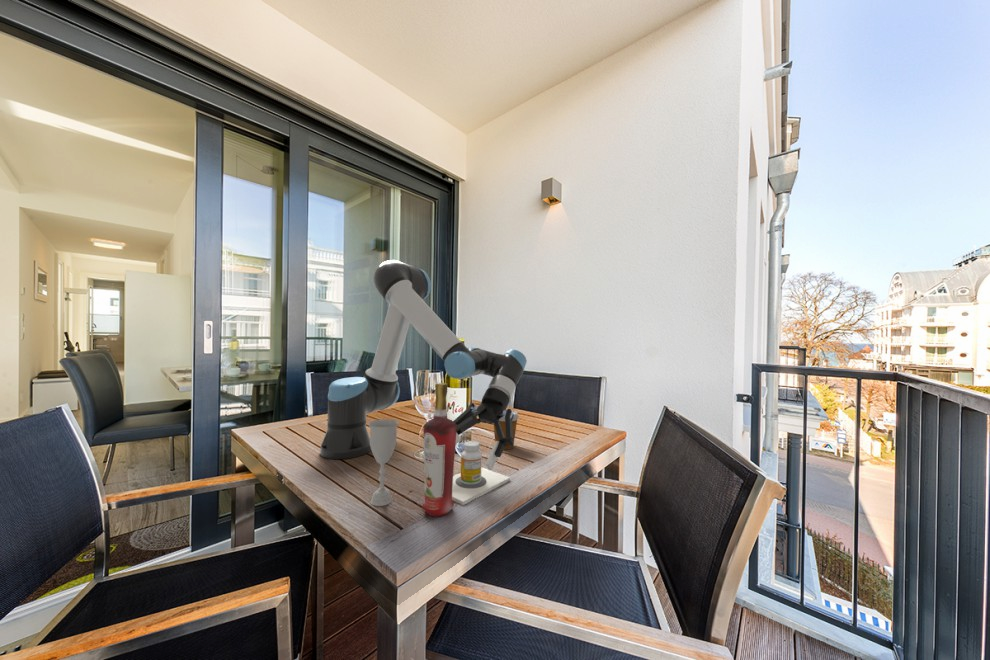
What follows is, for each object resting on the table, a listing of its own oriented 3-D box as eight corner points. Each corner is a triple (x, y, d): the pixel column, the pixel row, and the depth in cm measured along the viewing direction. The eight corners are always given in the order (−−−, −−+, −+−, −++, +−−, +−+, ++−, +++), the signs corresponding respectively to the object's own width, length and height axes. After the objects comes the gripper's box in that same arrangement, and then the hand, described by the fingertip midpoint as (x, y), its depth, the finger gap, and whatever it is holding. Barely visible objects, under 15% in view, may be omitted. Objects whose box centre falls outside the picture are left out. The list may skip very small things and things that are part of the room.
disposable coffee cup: (515, 452, 114) (516, 416, 114) (488, 449, 116) (489, 414, 116) (519, 443, 124) (520, 410, 124) (493, 441, 126) (494, 408, 126)
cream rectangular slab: (477, 468, 100) (477, 465, 100) (510, 480, 92) (510, 476, 92) (428, 489, 86) (429, 485, 86) (463, 505, 78) (463, 500, 78)
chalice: (402, 501, 79) (404, 423, 79) (374, 511, 74) (376, 428, 75) (388, 490, 84) (390, 417, 85) (360, 499, 80) (363, 421, 80)
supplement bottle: (463, 475, 92) (464, 439, 92) (483, 477, 91) (484, 441, 91) (457, 484, 87) (458, 445, 87) (478, 486, 86) (479, 447, 86)
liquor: (413, 512, 74) (417, 384, 75) (437, 499, 80) (440, 380, 81) (438, 524, 70) (442, 387, 70) (461, 509, 76) (464, 383, 76)
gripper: (541, 407, 95) (513, 480, 83) (469, 397, 109) (436, 458, 96) (533, 391, 91) (503, 465, 78) (459, 382, 104) (423, 444, 91)
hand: (466, 461), depth 87 cm, fingers open, 13 cm apart
